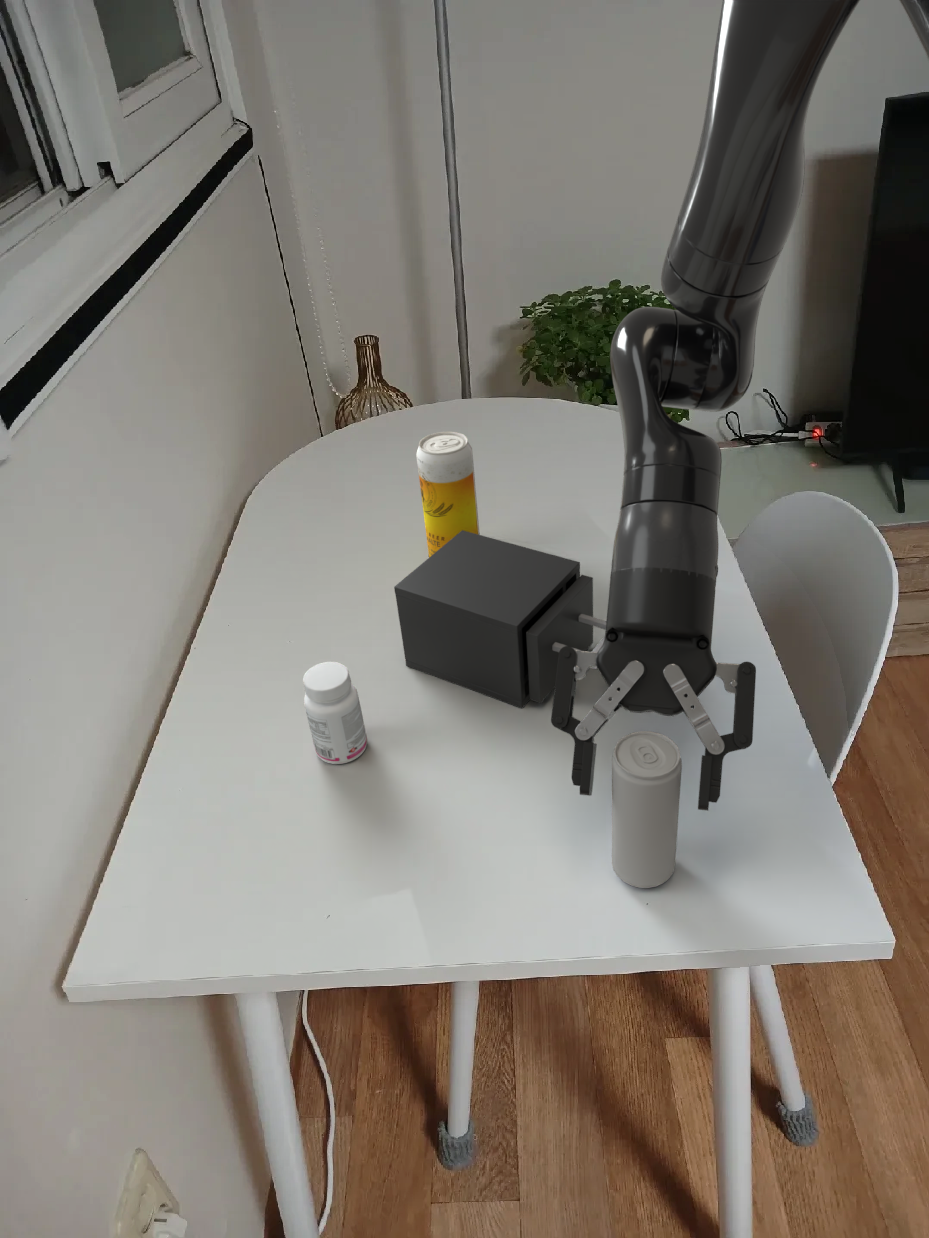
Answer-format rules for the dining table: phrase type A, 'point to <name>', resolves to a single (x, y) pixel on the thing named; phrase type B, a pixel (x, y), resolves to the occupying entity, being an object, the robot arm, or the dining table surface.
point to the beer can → (447, 487)
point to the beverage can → (645, 808)
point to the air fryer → (478, 612)
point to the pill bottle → (334, 713)
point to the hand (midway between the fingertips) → (643, 801)
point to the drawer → (558, 634)
